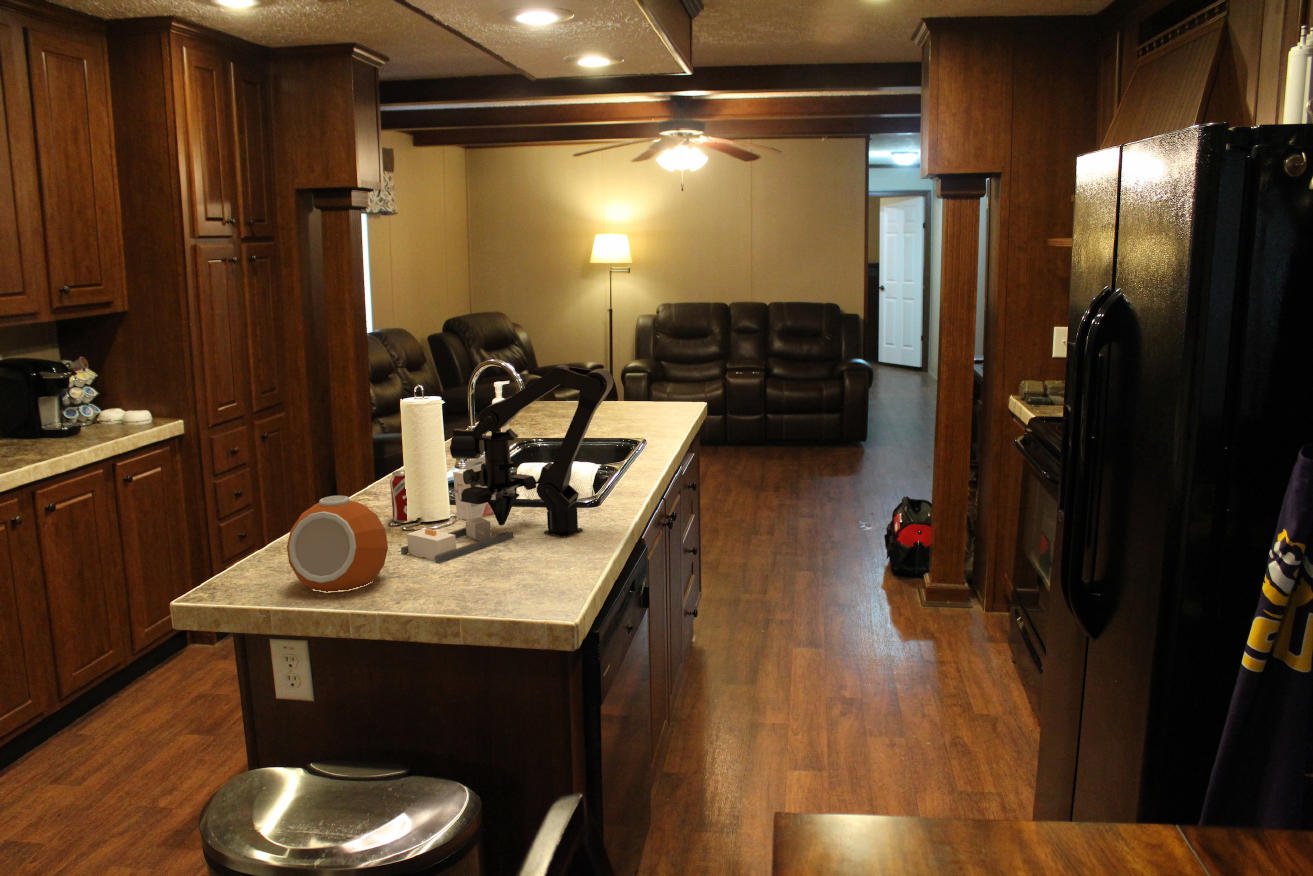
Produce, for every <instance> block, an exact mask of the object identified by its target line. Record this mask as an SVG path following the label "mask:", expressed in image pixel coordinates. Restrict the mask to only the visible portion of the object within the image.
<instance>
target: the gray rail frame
mask: <svg viewBox="0 0 1313 876" xmlns="http://www.w3.org/2000/svg"><path fill="white" fill-rule="evenodd" d="M447 533H448V534H453V535H455V538H456V539H458V538H461V537H465V536H467V534H466V526H465V527H461V528H458V529H456V530H453V531H449V532H447ZM511 539H514V531H513V530H508V531H504V532H503V533H499V534H496V535H493V536H490V538H485V539H481V540H477V541H475V542H472V543H470V544H465V545H464V546H460V547H456V549H454V550H451V551H448V552H445V553H442V554H439V555H436V556H435V560H434V562H435V563H436V564H441V563H444V562H447V561H450V560H453V559H455V558H458V557H462V556H465V555H468V554H470V553H473V552H477V551H479V550H482V549H485V548H487V547H490V546H494V545H497V544H500V543H502V542H503V543H504V542H505V541H507V540H511ZM407 553H408V545H405V546H402V547H400V554H401V555H402V554H406V555H408V554H407Z"/></svg>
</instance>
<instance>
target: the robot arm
mask: <svg viewBox="0 0 1313 876" xmlns="http://www.w3.org/2000/svg"><path fill="white" fill-rule="evenodd" d="M561 385H562V386H565V387H567V388H570V389H573V390H575V391H579V392H578V400H577V401H578V402H577V407H576V410H575V412H574V415H573V416H572V420H571V421H570V424H569V426H568V428H567V431H566V433H565V435H564V438H563V439H562V442H561V445H560V447H559V450H558V452H557V454H556V457H555V458H554V460H553V462H551V461H549V462H547V463H546V464H544V466H543V467H542V468H541V471H540V474H539V477H538V479H535V477H534V476H533V475H529V474H522V473H519V474H514V475H512V468H515V462H514V461H511V450H510V449H511V448H510V441H515V440H516V439H517V438H518V437H519V435H518V434H517V433H516V432H515V431H513V430H512V428H510V427H509V428H508V429H506V430H505V431H499V430H500V429H503V428H504V427H505V426H508V424H509V423H511V421H513V420H514V419H515V418H516V416H518V415H519V413H520V412H522V410H524V409H525V408H526V407H528V406H529V405H531V404H532V403H535V401H537V400H538V399H540V398H541V397H543V396H545V395H546V394H548V393H550V392H551V391H553V390H554V389H555V388H557V387H558V386H561ZM613 385H614V378H613V376H612V374H611V373H610V372H609V371H608V370H606V369H604V368H597V369H594V370H592V369H588V368H581V367H573V366H569V365H567V364H559V365H557V366H554V367H553V368H552V369H551V370H550V371H548V372H547V373H545V374H544V375H542V376H541V377H540V378H538V379H537V380H535V381H533V382H531V384H529V385H527V386H526V387H525V388H522V389H521V390H520V391H518V392H517V393H515V394H513V395H511V396H509V397H506V398H503V399H502V400H498V401H497V402H494V403H492V404H489V405H488V406H486V407H484V408H482V409H481V411H480V412H479V417H478V419H479V421H478V423H477V424H476V425H475V427H474V428H473V429H465V428H454V429H453V430H452V437H451V438H450V439H451V440H450V445H449V452H450V456H451V457H452V458H453V459H454V460H455V459H457V460H459V459H463V460H464V459H467V460H471V459H478V458H479V457H481V455H484V456H485V463H483V464H482V463H481V464H482V465H481V464H480V465H481V470H480V471H476V472H474V470H473V469H469V470H466V471H463V480H464V483H465V484H466V485H467V484H470V486H471V487H470V488H467V489H464V490H463V491H462V492H461V500H462V502H467V503H472V504H483V503H489V505H490V507H491V508H492V510H493V512H494V513H493V515H494V517H495V520H496V521H497V523H498V525H499V526H501V527H502V526H505V524H506V522H507V520H508V518H509V516H510V513H511V511H512V508H513V506H514V504H515V502H516V500H517V498H518V497H520V493H516V490H515V489H517V488H520V487H521V488H522V487H524V488H525V489H526V490H528V491H530V490H533V489H536V493H537V495H538V497H539V499H540V500H541V501H543V503H544V505H545V508H546V510H547V512H546V519H547V529H546V530H544V531H543V533H544V534H545V535H551V536H555V537H561V538H566V537H570V536H572V535H575V534H578V533H580V532H583V531H584V529H583V528H581V527H579V522H578V506H577V505H575V503H576V502H578V498H579V492H578V491H577V490H576V489H575V488H574V487H573V486H572V485H571V484H570V481H571V477H572V471H573V470H572V468H573V464H574V461H575V460H576V457H577V455H578V453H579V450H580V448H581V446H582V443H583V442H584V439H585V436H586V433H587V432H588V429H589V426H590V425H591V423H592V419H593V418H594V415H595V414H596V411H597V409H598V408H599V407H600V405H601V404H602V403H603V401H604V400H605V399H606V398H607V396H608V395H609V393H610V391H611V390H612V388H613V387H614V386H613ZM489 432H493V433H492V434H491V435H485V434H487V433H489ZM477 485H480V486H487V488H482V487H476V486H477Z"/></svg>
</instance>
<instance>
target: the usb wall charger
mask: <svg viewBox="0 0 1313 876" xmlns="http://www.w3.org/2000/svg"><path fill="white" fill-rule="evenodd" d="M465 527H466V534H467V535H466V536H467V537H469V538H471V539H473V540H476V541H481V540H484V539H487V538H490V537H492V534H493V530H492V529H491V527H492V525H491V522H490V521H489V520H487V519H485V518H483V517H477V518H472V519H468V520H466V521H465Z"/></svg>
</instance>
